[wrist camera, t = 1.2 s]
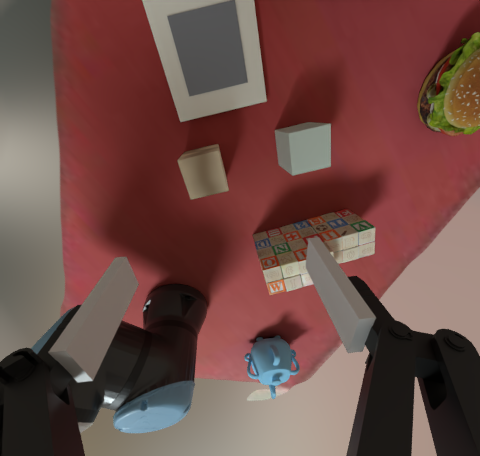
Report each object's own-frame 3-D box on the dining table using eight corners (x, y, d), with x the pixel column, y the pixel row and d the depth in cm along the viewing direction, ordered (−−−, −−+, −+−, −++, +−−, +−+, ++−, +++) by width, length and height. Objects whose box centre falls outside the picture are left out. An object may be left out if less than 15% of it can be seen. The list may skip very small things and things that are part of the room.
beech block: (195, 184, 39) (190, 199, 32) (184, 151, 36) (177, 160, 29) (226, 177, 39) (228, 190, 32) (218, 143, 36) (218, 150, 29)
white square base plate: (181, 122, 34) (180, 122, 33) (141, -6, 27) (138, -12, 26) (265, 101, 34) (267, 101, 33) (247, -33, 27) (249, -40, 26)
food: (511, 60, 35) (585, 46, 28) (446, 144, 41) (494, 150, 34) (457, 14, 31) (526, -15, 24) (394, 113, 37) (435, 113, 30)
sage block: (278, 164, 39) (292, 175, 32) (274, 130, 36) (288, 133, 29) (310, 157, 39) (330, 166, 32) (308, 122, 36) (330, 123, 29)
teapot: (272, 323, 61) (282, 362, 51) (298, 345, 67) (311, 385, 56) (239, 343, 64) (242, 384, 54) (267, 363, 70) (274, 403, 60)
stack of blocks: (347, 206, 45) (389, 235, 34) (347, 231, 48) (386, 264, 37) (251, 234, 46) (262, 271, 35) (257, 256, 49) (269, 296, 38)
